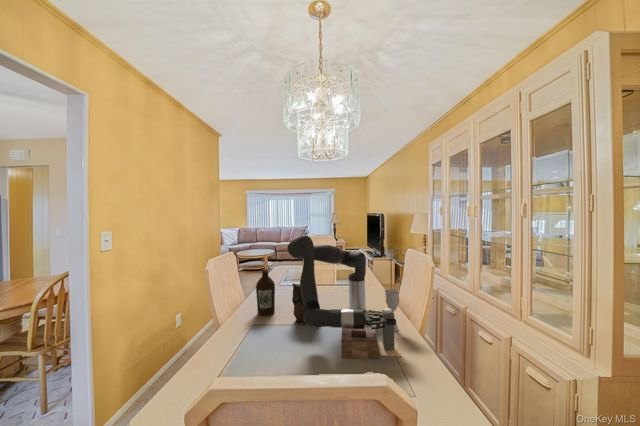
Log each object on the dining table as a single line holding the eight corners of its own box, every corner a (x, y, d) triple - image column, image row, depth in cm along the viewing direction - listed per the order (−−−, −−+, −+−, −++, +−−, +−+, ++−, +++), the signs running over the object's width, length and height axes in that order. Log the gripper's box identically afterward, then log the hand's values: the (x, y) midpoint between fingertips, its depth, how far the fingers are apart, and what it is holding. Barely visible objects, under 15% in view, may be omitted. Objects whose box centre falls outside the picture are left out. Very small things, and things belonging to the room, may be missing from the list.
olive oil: (257, 310, 152) (256, 268, 152) (275, 309, 154) (274, 267, 154) (255, 317, 142) (254, 272, 142) (275, 316, 143) (274, 270, 143)
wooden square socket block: (342, 339, 114) (342, 326, 114) (374, 340, 113) (374, 327, 113) (341, 357, 100) (341, 342, 100) (378, 358, 99) (378, 343, 99)
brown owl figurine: (320, 324, 131) (319, 285, 130) (296, 328, 127) (295, 287, 127) (314, 315, 143) (313, 279, 143) (291, 318, 139) (290, 281, 139)
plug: (382, 343, 107) (382, 307, 107) (392, 344, 107) (392, 307, 107) (384, 348, 103) (383, 311, 103) (394, 349, 103) (393, 311, 103)
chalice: (390, 333, 119) (389, 294, 119) (382, 326, 126) (381, 290, 126) (404, 330, 121) (402, 292, 121) (396, 324, 128) (395, 288, 128)
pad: (377, 343, 111) (377, 342, 111) (396, 343, 110) (396, 342, 110) (380, 356, 101) (380, 355, 101) (401, 356, 100) (401, 355, 100)
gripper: (352, 316, 100) (398, 317, 98) (352, 303, 114) (391, 304, 112) (353, 336, 100) (398, 337, 98) (352, 320, 114) (392, 321, 112)
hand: (394, 319), depth 105 cm, fingers closed on plug, 4 cm apart
